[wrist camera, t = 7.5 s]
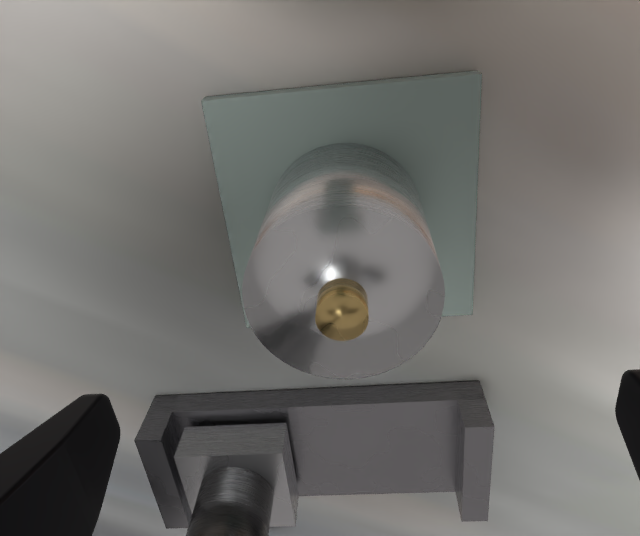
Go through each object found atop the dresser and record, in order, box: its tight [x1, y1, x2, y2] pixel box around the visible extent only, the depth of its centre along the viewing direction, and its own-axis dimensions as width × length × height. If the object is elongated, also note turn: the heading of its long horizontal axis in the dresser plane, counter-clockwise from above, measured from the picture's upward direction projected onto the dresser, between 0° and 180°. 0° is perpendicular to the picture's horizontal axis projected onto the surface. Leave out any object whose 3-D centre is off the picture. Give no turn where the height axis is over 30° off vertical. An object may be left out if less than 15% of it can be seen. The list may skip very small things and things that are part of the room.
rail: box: [134, 381, 494, 528], centre depth 21 cm, size 5×13×2 cm, turn 96°
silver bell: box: [242, 143, 445, 379], centre depth 15 cm, size 5×5×6 cm
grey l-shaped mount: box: [201, 71, 482, 328], centre depth 12 cm, size 14×8×10 cm, turn 6°
